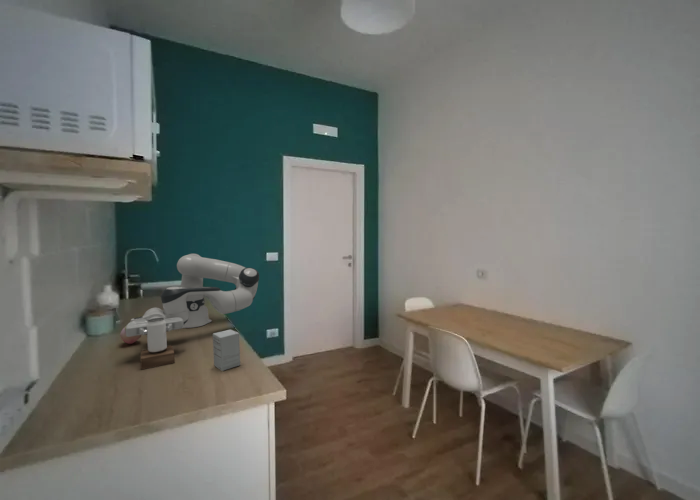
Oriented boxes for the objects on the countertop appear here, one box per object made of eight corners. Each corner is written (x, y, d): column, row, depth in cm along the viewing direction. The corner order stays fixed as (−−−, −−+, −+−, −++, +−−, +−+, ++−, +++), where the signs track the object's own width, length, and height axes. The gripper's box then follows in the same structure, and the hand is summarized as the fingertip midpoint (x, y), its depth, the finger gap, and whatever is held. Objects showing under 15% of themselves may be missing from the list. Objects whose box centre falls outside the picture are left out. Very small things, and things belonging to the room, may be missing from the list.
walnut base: (141, 360, 132) (140, 350, 132) (172, 354, 138) (172, 344, 138) (141, 369, 123) (140, 359, 123) (174, 362, 129) (174, 352, 128)
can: (170, 347, 133) (168, 317, 132) (159, 352, 126) (157, 321, 126) (155, 346, 134) (153, 317, 133) (144, 352, 127) (142, 321, 127)
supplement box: (232, 360, 131) (230, 328, 130) (240, 365, 125) (239, 332, 125) (213, 365, 125) (212, 333, 125) (221, 371, 120) (220, 337, 119)
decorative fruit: (141, 345, 149) (140, 323, 149) (119, 348, 146) (118, 326, 145) (144, 339, 158) (142, 319, 157) (123, 342, 154) (122, 321, 154)
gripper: (182, 326, 146) (186, 334, 135) (127, 334, 135) (125, 344, 124) (182, 312, 146) (185, 319, 134) (126, 319, 135) (124, 327, 123)
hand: (156, 331), depth 129 cm, fingers closed on can, 6 cm apart
